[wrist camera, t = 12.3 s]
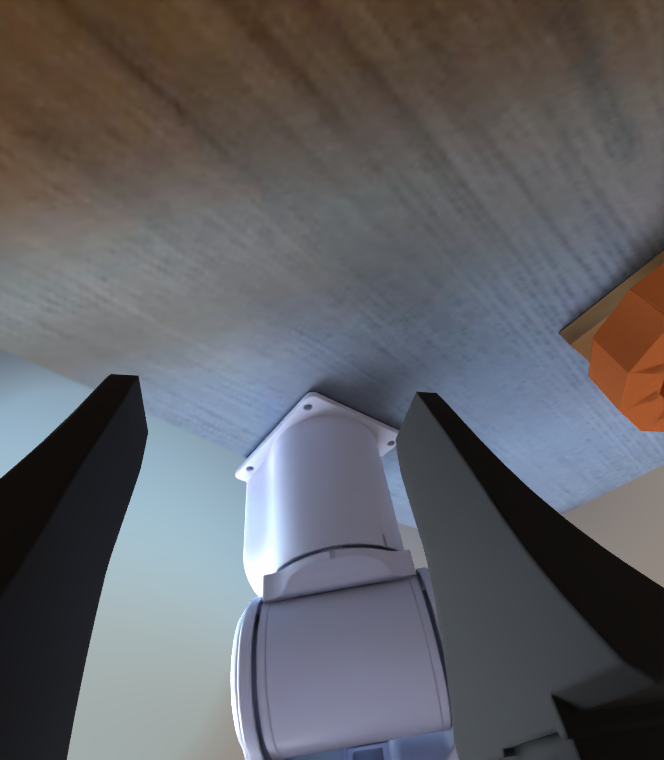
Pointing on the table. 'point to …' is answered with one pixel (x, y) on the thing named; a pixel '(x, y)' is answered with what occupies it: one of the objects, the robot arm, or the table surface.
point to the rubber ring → (634, 354)
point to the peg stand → (603, 311)
